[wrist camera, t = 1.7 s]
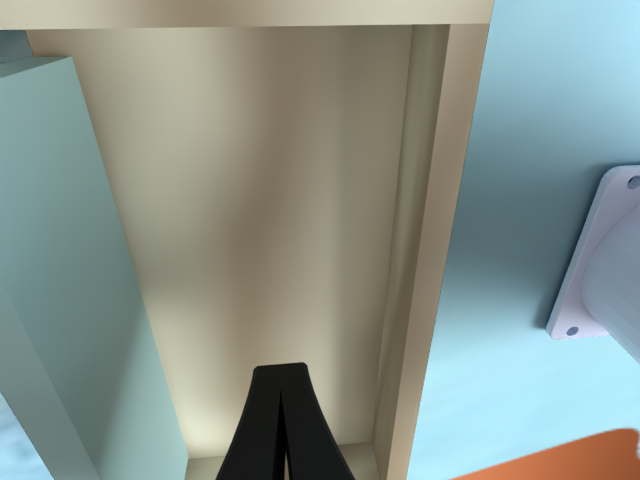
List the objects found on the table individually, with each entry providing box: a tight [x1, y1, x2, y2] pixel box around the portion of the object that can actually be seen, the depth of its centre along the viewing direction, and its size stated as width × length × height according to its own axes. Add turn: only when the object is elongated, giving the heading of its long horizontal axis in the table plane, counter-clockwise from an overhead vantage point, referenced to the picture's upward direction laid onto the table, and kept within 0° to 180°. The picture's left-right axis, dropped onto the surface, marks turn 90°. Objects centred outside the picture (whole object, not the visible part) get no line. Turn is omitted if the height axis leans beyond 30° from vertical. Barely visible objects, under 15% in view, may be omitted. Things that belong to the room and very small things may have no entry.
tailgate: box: [0, 56, 189, 480], centre depth 12 cm, size 1×16×5 cm, turn 0°
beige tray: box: [0, 0, 494, 480], centre depth 14 cm, size 10×21×4 cm, turn 0°
